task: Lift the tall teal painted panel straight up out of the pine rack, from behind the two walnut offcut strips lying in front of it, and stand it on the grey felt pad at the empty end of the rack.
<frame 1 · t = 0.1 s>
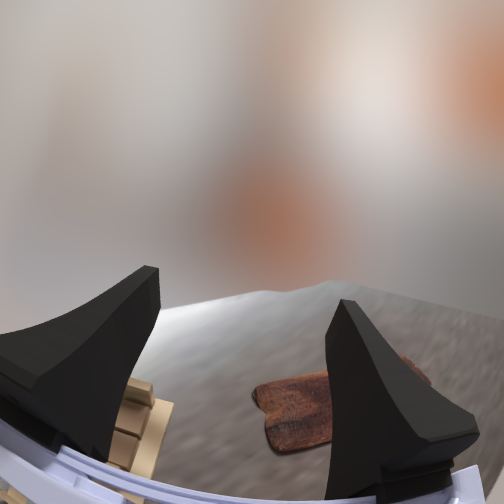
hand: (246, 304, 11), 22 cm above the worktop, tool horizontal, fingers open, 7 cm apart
offcut B: (132, 422, 24), point 1 cm above the worktop, touching rack
rack: (89, 459, 19), on the worktop
wooden tablet: (355, 398, 32), on the worktop
offcut A: (120, 453, 20), point 1 cm above the worktop, touching rack
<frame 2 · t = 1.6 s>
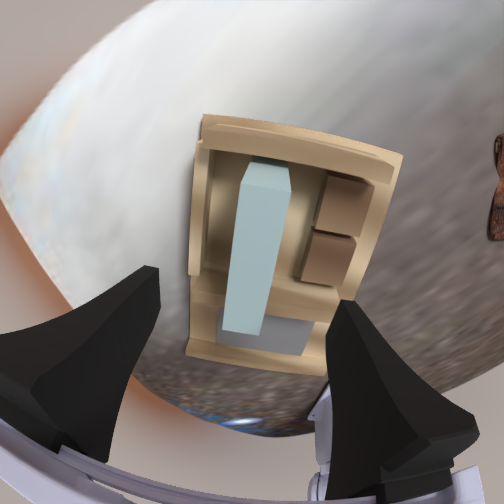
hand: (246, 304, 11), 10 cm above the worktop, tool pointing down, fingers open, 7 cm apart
offcut B: (340, 199, 18), point 1 cm above the worktop, touching rack
rack: (278, 263, 22), on the worktop
panel: (260, 213, 19), point 1 cm above the worktop, touching rack
felt pad: (265, 321, 25), resting on rack
offcut A: (325, 251, 20), point 1 cm above the worktop, touching rack
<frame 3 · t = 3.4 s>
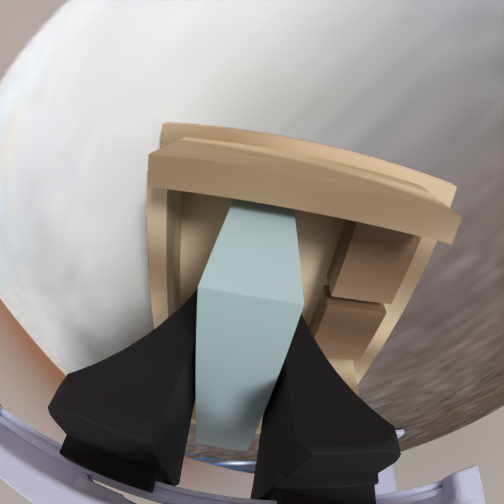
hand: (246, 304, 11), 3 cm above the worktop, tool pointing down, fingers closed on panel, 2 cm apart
offcut B: (367, 249, 12), point 1 cm above the worktop, touching rack
rack: (277, 327, 16), on the worktop
panel: (251, 268, 13), point 1 cm above the worktop, touching gripper, rack
offcut A: (341, 315, 14), point 1 cm above the worktop, touching rack
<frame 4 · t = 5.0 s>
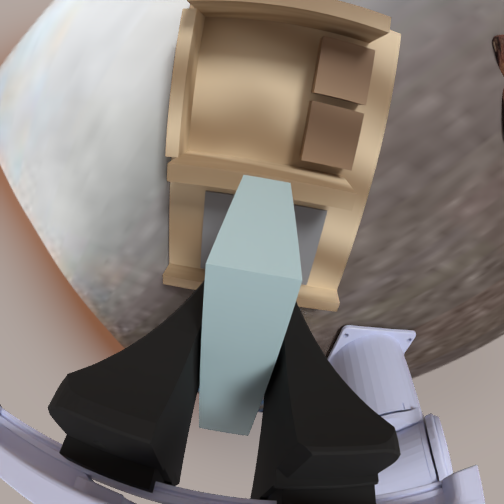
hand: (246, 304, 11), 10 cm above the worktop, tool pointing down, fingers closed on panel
offcut B: (339, 72, 14), point 1 cm above the worktop, touching rack
rack: (274, 152, 18), on the worktop
panel: (252, 258, 14), point 6 cm above the worktop, touching gripper
felt pad: (260, 236, 21), resting on rack
offcut A: (328, 133, 16), point 1 cm above the worktop, touching rack
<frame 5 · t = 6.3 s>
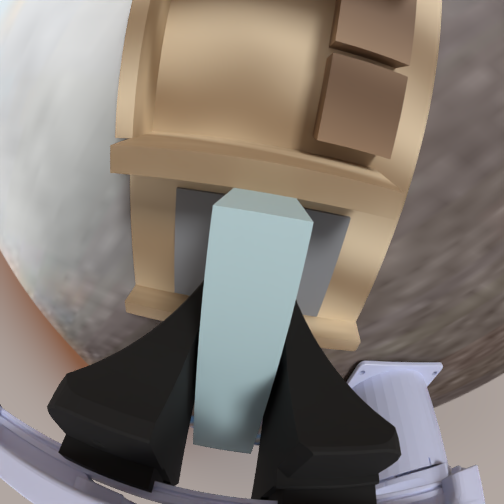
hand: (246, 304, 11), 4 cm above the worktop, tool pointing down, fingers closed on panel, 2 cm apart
offcut B: (368, 23, 8), point 1 cm above the worktop, touching rack
rack: (276, 132, 12), on the worktop
panel: (251, 269, 14), point 2 cm above the worktop, tilted 12°, touching gripper, rack
felt pad: (255, 251, 15), resting on rack
offcut A: (354, 105, 10), point 1 cm above the worktop, touching rack
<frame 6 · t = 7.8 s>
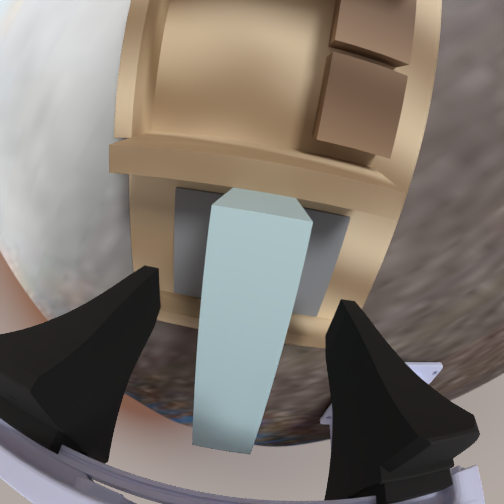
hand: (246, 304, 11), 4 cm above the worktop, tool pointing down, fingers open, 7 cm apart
offcut B: (368, 22, 8), point 1 cm above the worktop, touching rack
rack: (275, 132, 12), on the worktop
panel: (250, 269, 13), point 2 cm above the worktop, tilted 12°, touching rack
felt pad: (254, 251, 15), resting on rack
offcut A: (354, 104, 10), point 1 cm above the worktop, touching rack
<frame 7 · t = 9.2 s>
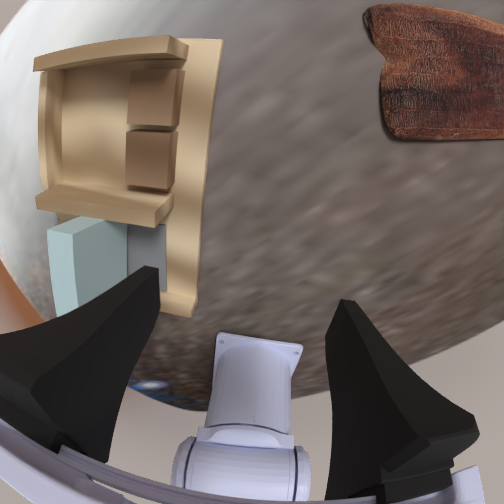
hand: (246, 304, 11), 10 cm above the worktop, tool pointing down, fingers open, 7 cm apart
offcut B: (159, 96, 16), point 1 cm above the worktop, touching rack
rack: (121, 177, 19), on the worktop
panel: (115, 258, 21), point 2 cm above the worktop, tilted 12°, touching rack
felt pad: (124, 247, 22), resting on rack
offcut A: (155, 155, 18), point 1 cm above the worktop, touching rack
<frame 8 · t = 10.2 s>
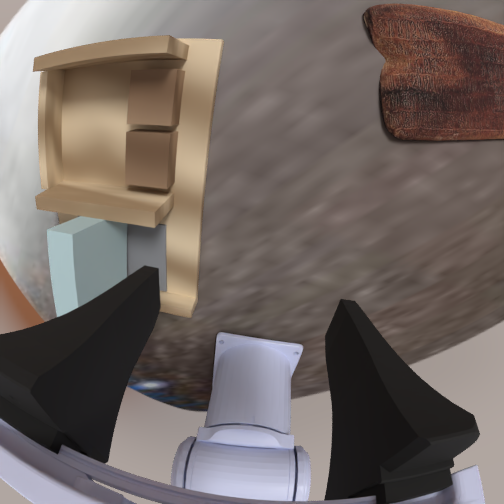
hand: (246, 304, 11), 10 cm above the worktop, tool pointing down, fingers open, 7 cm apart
offcut B: (159, 96, 16), point 1 cm above the worktop, touching rack
rack: (121, 177, 19), on the worktop
panel: (115, 258, 21), point 2 cm above the worktop, tilted 12°, touching rack
felt pad: (124, 247, 22), resting on rack
offcut A: (155, 155, 18), point 1 cm above the worktop, touching rack
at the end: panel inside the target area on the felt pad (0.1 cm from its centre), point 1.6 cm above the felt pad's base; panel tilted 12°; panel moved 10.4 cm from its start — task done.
